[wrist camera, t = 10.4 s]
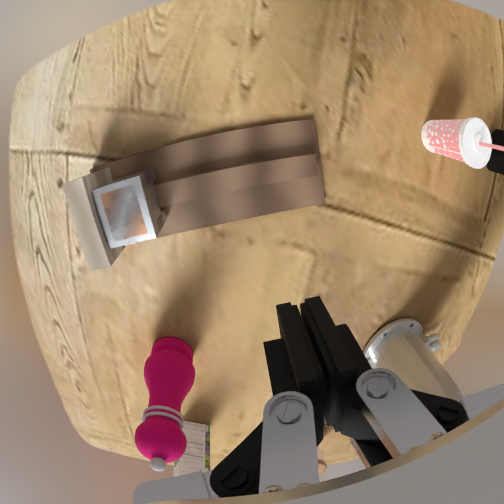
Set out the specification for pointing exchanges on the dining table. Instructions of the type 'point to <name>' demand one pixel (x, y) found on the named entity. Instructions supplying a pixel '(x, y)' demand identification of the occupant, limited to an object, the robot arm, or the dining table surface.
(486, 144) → the beverage cup
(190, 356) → the pepper mill
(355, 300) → the dining table surface
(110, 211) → the block
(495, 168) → the battery
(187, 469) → the syrup box
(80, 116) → the dining table surface
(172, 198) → the rail
